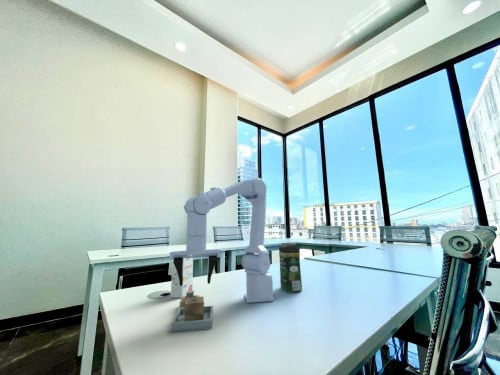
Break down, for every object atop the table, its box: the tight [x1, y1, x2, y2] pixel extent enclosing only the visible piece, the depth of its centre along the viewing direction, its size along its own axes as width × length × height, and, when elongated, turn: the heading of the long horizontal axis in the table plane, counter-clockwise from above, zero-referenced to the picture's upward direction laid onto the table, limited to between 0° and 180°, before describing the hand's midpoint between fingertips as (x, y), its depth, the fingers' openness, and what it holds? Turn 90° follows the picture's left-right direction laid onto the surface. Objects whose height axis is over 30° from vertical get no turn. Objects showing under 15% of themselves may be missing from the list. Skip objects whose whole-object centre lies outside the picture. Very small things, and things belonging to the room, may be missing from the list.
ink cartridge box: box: [170, 255, 194, 299], centre depth 83 cm, size 9×5×15 cm, turn 168°
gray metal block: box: [186, 290, 195, 298], centre depth 68 cm, size 2×2×5 cm
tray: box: [170, 305, 214, 333], centre depth 58 cm, size 10×10×2 cm
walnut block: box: [184, 296, 205, 321], centre depth 59 cm, size 5×5×5 cm
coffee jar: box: [278, 242, 303, 293], centre depth 87 cm, size 10×8×19 cm
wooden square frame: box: [179, 294, 201, 308], centre depth 68 cm, size 6×6×3 cm
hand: (195, 283), depth 60 cm, fingers open, 7 cm apart
